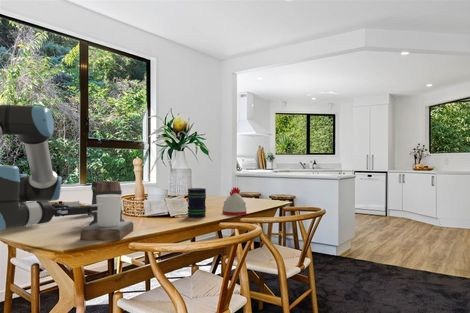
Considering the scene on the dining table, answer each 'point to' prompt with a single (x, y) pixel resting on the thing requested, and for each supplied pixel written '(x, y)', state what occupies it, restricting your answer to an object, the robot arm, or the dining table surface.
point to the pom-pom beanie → (234, 204)
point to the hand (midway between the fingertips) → (90, 205)
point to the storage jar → (196, 202)
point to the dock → (106, 232)
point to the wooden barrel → (94, 190)
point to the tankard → (107, 188)
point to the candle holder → (109, 210)
